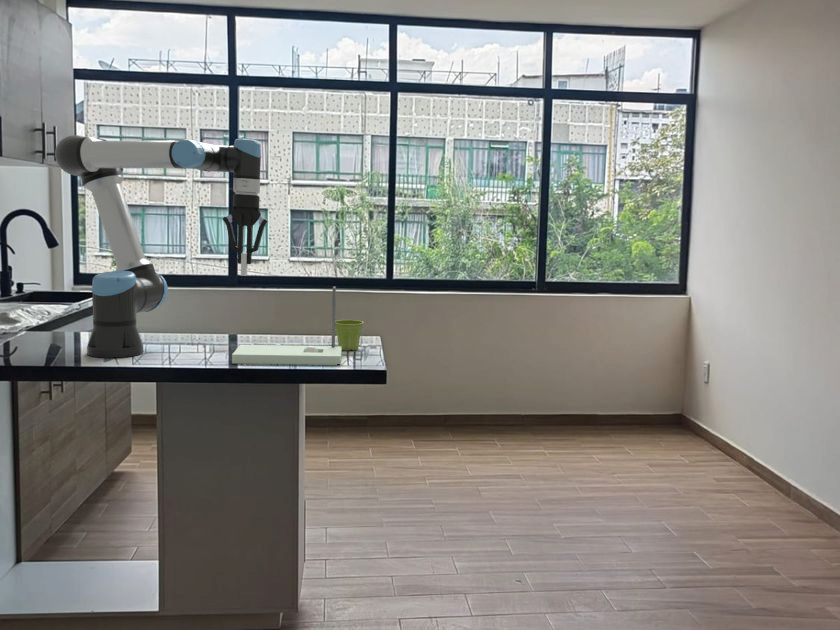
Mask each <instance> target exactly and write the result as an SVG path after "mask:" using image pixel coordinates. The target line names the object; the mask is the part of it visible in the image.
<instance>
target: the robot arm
mask: <svg viewBox="0 0 840 630" xmlns="http://www.w3.org/2000/svg"><path fill="white" fill-rule="evenodd" d="M261 148H262V147H261V142H260V141H259V140H257V139H256V140H255V139H251V138H250V139H249V138H236V139H235V140H234V144H233V145H220V144H219V145H218V144H212V143H206V142H202V141H201V142H200V141H197V140H194V139H190V138H189V139H187V138H185V139H184V138H183V139H180V140H106V139H104V138H94V137H92V136H83V135H78V134H77V135H76V134H74V135H68V136H65V137H64V138H62V139H61V140H60V141H59V142H58V143H57V145H56V147H55V150H54V151H55V152H54V157H55V161H56V163H57V165H58V167H59V168H60V169H61V170H63V171H64V172H65V173H67V174H68V175H72V176H75V177H80V179H81V182H82V184H83V187H84V189H86V190H88V191H90V192H91V194H92V198H93V201H94V203H95V206H96V209H97V213H98V215H99V217H100V221H101V224H102V226H103V230H104V233H105V235H106V238H107V242H108V244H109V247H110V250H111V253H112V255H113V259H114V262H115V265H116V270H112V271H104V272H101V273H98V274H96V275H94V277H93V278H92V285H91V293H92V295H91V297H92V300H91V301H92V302H91V303H92V330H91V334H90V336H89V340H88V342H87V346H86V354H88V356H89V355H90V356H89V357H94V358H107V359H108V358H109V359H111V358H113V359H114V357H116V358H126V357H127V358H129V357H134V356H139V355H141V354H144V344H143V341H142V338H141V335H140V332H139V330H138V328H137V314H139V313H148V312H150V311H153V310H156V309H158V308H161V307H162V305H163V304H164V302H165V301H166V299H167V298H168V292H169V290H168V289H169V288H168V287H169V286H168V284H167V283H168V282H167V281H166V279H165V277H163V275H161V274H159V273H158V272H157V271H156V269H155V266H154V263H153V262H152V261H149V260H147V259H146V256H145V253H144V249H143V247H142V243H141V241H140V238H139V235H138V232H137V229H136V226H135V223H134V221H133V218H132V214H131V212H130V209H129V204H128V202H127V200H126V196H125V194H124V191H123V187H122V183H123V181H124V179H125V177H124V174H123V172H124V169H179V170H180V169H181V170H182V169H183V170H185V169H187V170H188V169H190V170H191V169H192V170H193V169H194V170H197V171H203V172H208V173H210V172H218V173H219V172H221V173H233V187H232V191H233V192H234V194H233V195H232V209H231V212H230V214H229V215H226V216H224V217H222V221H223V222H224V224H225V225H226V230H227V236H228V239H229V244H230V249H231V250H232V251H235V252H237V264H238V265H240V277H241V276H245V277H246V276H248V271H249V269H248V267H249V266H248V265H251V264H252V260H253V259H252V254H253V253H255V252H257V251H259V249H260V248H259V247H260V244H261V241H262V238H263V233H264V231H265V227H266V225H267V224H268V223H269V220H268V219H267V218H264V217H263V216H262V214H261V211H260V201H261V200H260V195H258V194H260V191H261V162H262V152H261V151H262V149H261ZM233 220H234V222H235V223H236V224H237V242H236V236H235V232H234V227H233V224H232V222H233ZM257 222H258V224H259V226H258V229H257V233H256V236H255V240H254V244H253V230H254V226H255V224H256V223H257ZM245 227H246V251H245V252H244V236H245V235H244V234H245V233H244V231H245Z"/></svg>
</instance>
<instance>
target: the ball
mask: <svg viewBox="0 0 840 630" xmlns="http://www.w3.org/2000/svg"><path fill="white" fill-rule="evenodd" d="M307 346H308V347H307V348H306V349H305V351H304V352H316V353H318V350H317V348H316V347H314V346H315V345H307Z"/></svg>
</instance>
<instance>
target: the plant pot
mask: <svg viewBox="0 0 840 630" xmlns="http://www.w3.org/2000/svg"><path fill="white" fill-rule="evenodd" d="M363 325H364V321H363V320H357V319H356V320H355V319H340V320H339V319H338V320H335V332H336V337H337V344H338V345H337V346H342V351H346V350H348V351H351V350H352V351H357V350H359V345H360V339H361V332H362V328H363Z"/></svg>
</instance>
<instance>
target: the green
mask: <svg viewBox="0 0 840 630" xmlns="http://www.w3.org/2000/svg"><path fill="white" fill-rule="evenodd" d="M336 293H337V287H336V286H333V287H332V293H331V294H332V295H331V296H332V298H331V300H332V301H331V303H332V304H331V345H313V346H314V347H316V348H317V350H318V353H316V352H304V351H305V349H306V348H307V347H308V346H309V345H281V344H280V345H279V344H277V345H276V344H275V345H274V344H273V345H272V344H240V345H239V346H238V347H237V348H236V349H235V351H234V352H233V353H232V354H231V363H232V364H246V365H247V364H249V365H250V364H251V365H252V364H254V365H257V364H258V365H263V364H264V365H314V366H315V365H317V366H319V365H320V366H321V365H322V366H323V365H324V366H326V365H327V366H338V365H337V364H342V363H341V362H342V354H343V353H342V351H343V350H342V346H338V345H337V346H336V328H335V321H336V310H337V309H336V306H337V304H336V303H337V302H336V301H337V300H336V299H337V297H336V296H337V294H336Z"/></svg>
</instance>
